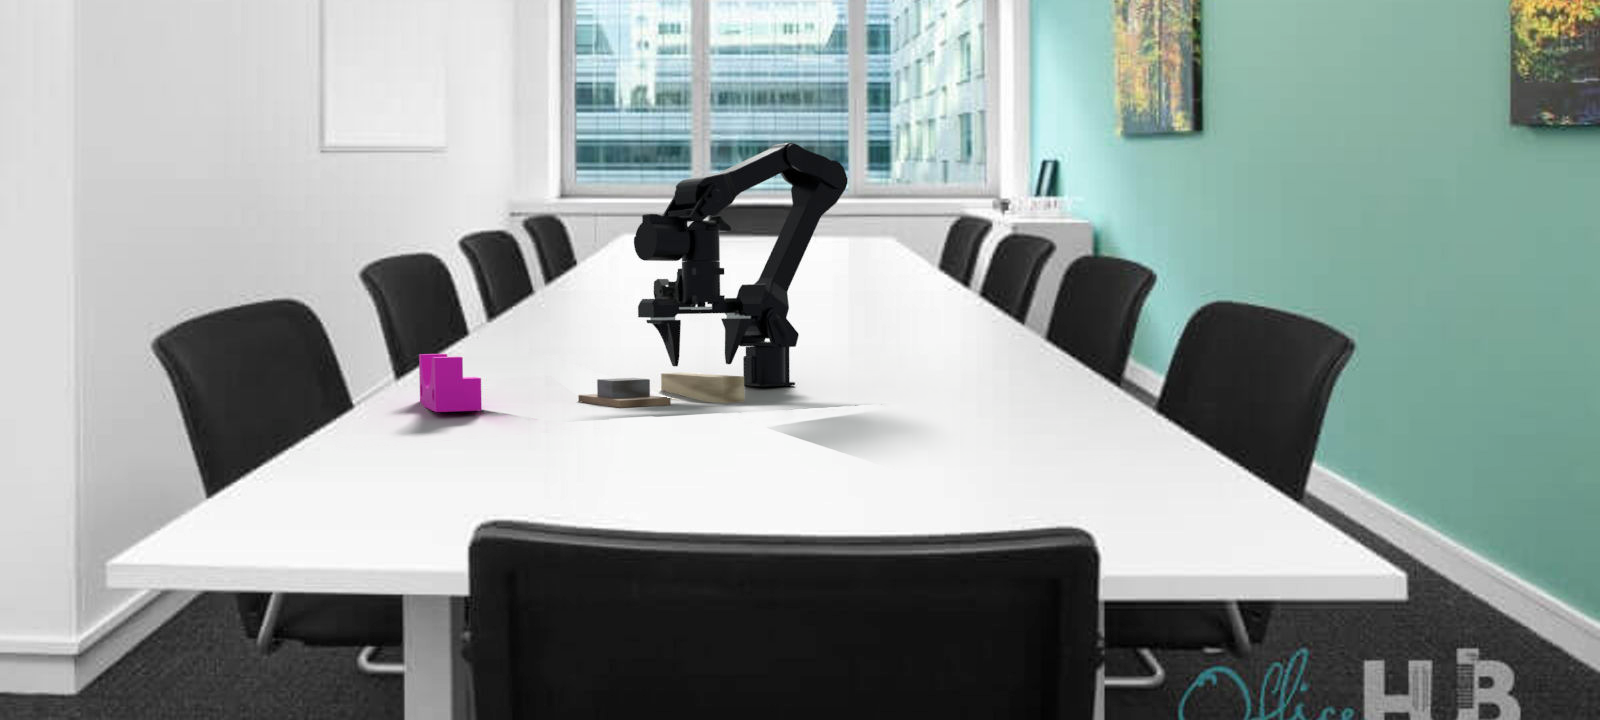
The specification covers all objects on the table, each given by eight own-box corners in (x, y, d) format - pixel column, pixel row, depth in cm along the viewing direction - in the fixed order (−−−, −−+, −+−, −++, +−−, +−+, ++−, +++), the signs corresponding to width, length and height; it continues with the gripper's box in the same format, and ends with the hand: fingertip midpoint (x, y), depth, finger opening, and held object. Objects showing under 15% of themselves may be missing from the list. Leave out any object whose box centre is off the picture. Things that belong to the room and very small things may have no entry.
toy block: (481, 410, 188) (480, 356, 188) (435, 412, 186) (434, 357, 185) (462, 403, 202) (462, 353, 202) (420, 404, 199) (419, 354, 199)
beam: (682, 398, 210) (682, 372, 210) (744, 403, 198) (744, 376, 198) (661, 399, 208) (661, 373, 208) (722, 405, 196) (722, 377, 195)
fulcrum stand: (627, 399, 204) (627, 376, 204) (670, 404, 192) (670, 380, 192) (578, 401, 199) (578, 378, 199) (619, 407, 188) (619, 382, 188)
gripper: (727, 263, 214) (728, 361, 215) (620, 262, 204) (622, 365, 204) (764, 261, 205) (765, 363, 205) (654, 260, 194) (656, 368, 195)
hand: (702, 365), depth 203 cm, fingers open, 9 cm apart
